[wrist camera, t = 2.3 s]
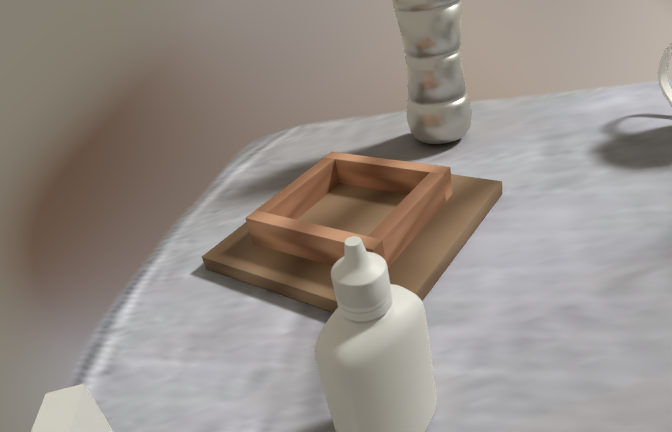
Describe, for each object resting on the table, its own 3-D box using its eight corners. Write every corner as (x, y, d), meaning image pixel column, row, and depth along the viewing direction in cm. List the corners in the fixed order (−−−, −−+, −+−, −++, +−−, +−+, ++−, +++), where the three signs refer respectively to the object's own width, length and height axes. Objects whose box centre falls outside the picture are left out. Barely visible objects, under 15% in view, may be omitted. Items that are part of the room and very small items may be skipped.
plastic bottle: (443, 157, 53) (423, -68, 42) (396, 142, 58) (368, -63, 47) (486, 133, 56) (477, -84, 45) (438, 120, 61) (420, -78, 50)
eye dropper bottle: (330, 411, 30) (279, 232, 23) (426, 380, 30) (400, 198, 24) (349, 481, 26) (294, 292, 20) (458, 445, 26) (437, 250, 20)
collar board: (502, 193, 45) (501, 154, 43) (397, 334, 34) (389, 289, 32) (331, 167, 55) (324, 135, 53) (206, 268, 44) (191, 231, 42)
